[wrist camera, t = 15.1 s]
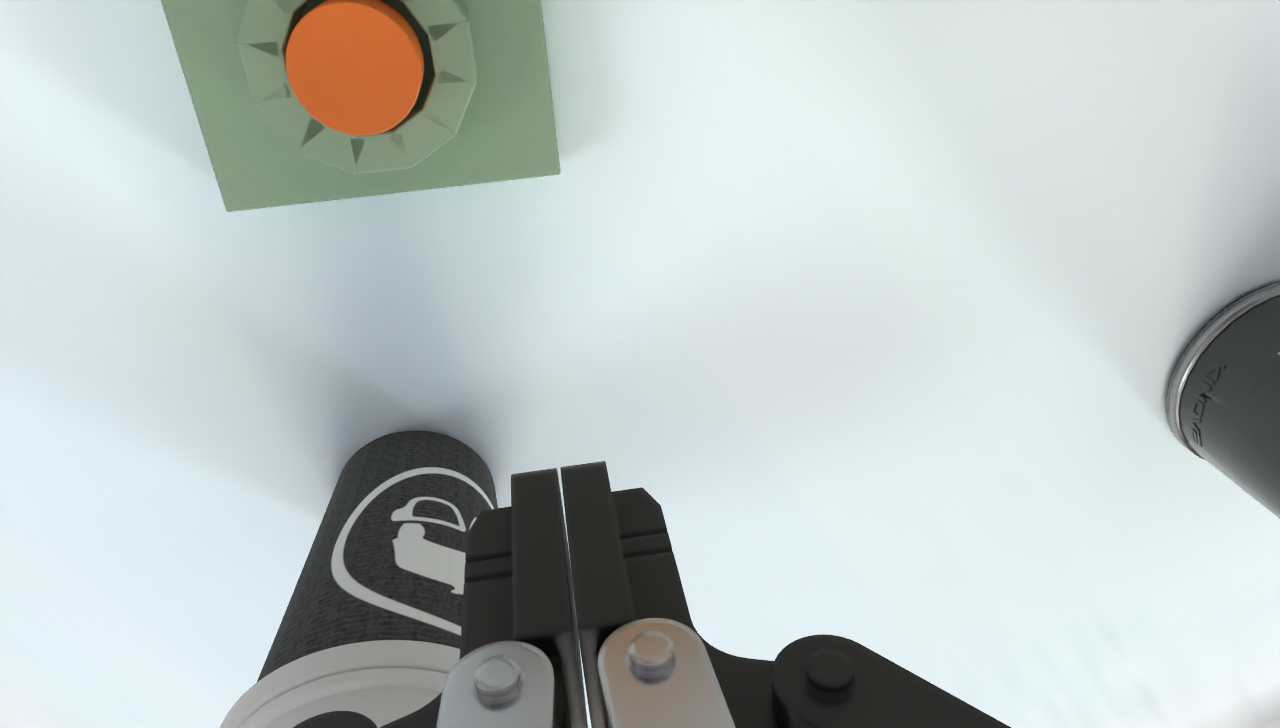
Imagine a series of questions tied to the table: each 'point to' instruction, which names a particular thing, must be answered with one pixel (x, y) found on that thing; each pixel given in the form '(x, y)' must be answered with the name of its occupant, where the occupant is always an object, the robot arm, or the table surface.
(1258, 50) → the table surface
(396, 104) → the button
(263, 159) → the button box
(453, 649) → the coffee cup
